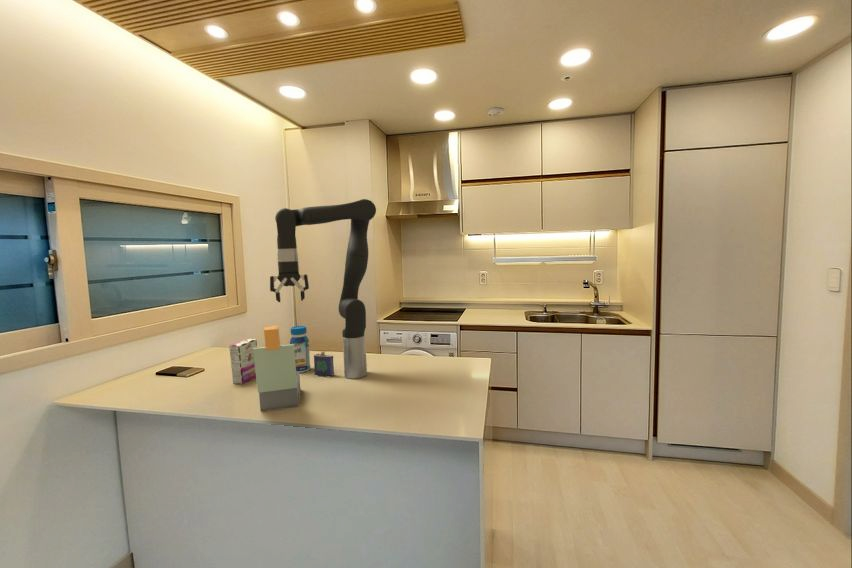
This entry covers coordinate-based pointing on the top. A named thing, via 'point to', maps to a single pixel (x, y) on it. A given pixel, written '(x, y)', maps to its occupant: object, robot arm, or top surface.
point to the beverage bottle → (300, 348)
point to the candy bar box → (243, 361)
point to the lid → (274, 363)
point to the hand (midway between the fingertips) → (290, 301)
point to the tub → (280, 398)
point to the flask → (323, 364)
